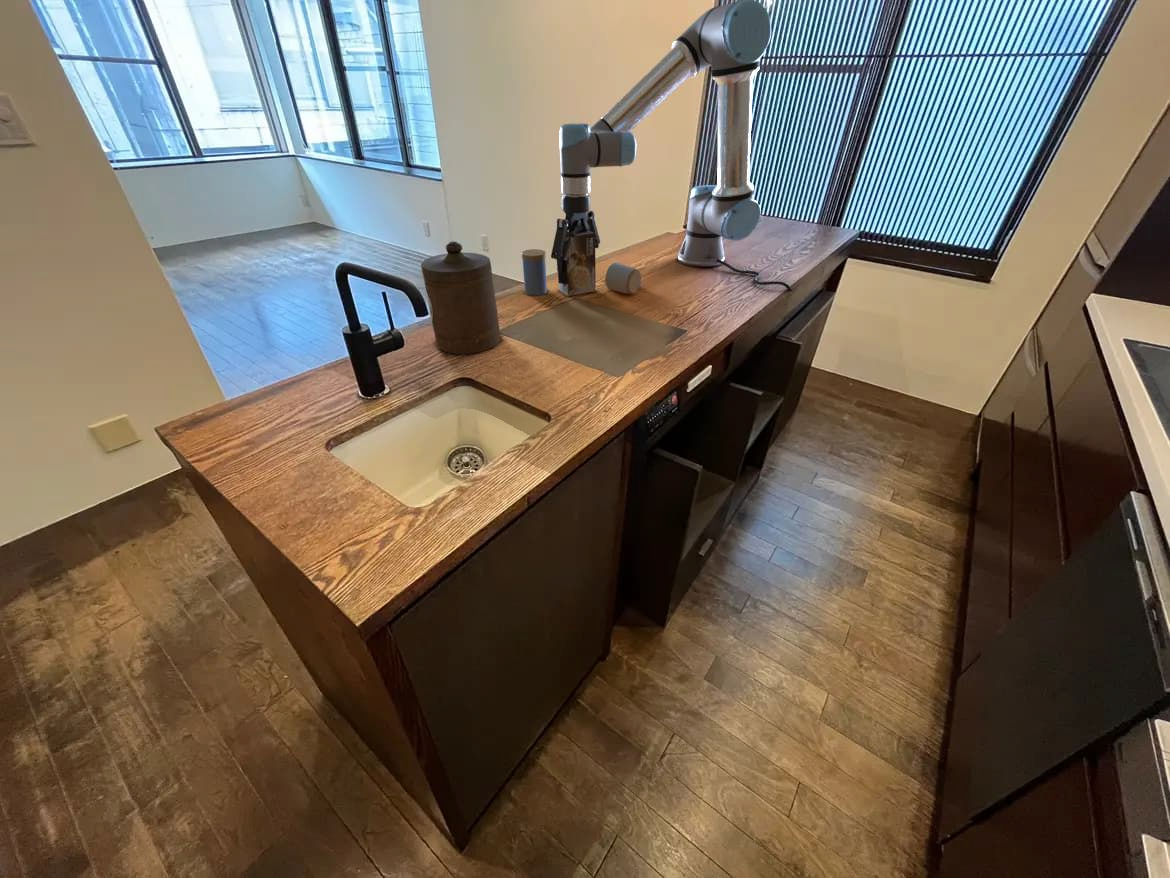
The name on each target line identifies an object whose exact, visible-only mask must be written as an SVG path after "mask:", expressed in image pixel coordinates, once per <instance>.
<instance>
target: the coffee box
mask: <svg viewBox="0 0 1170 878" xmlns="http://www.w3.org/2000/svg"><path fill="white" fill-rule="evenodd" d="M568 238H569V237H566V236H565V241H567V240H568ZM565 259H566V260H567V273H568V284H567V285H565V284H561V283H558V290H559V292H561V293H563V294H564V295H565V296H567V297H572V296H578V295H583V294H588V293H593V292H596V291H597V289H596V288H597V287H596V286H597V285H596V283H597V282H596V280H597V279H596V248H595V233H593V232H591V231H583V232H579V233H577V234H576V235H575V236H572V237H571V244H570V247H569V249H568V252H567V255H566V257H565Z"/></svg>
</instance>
